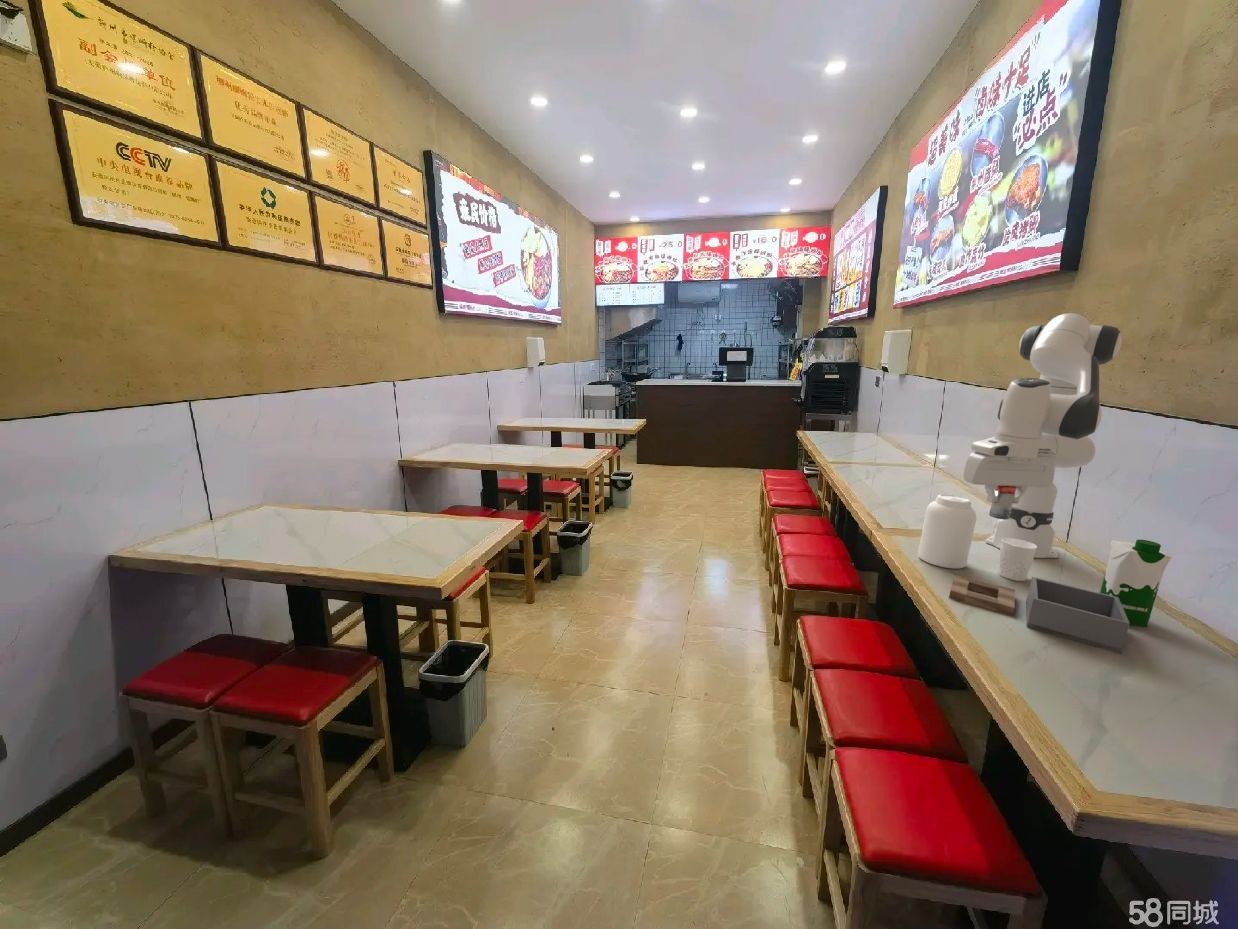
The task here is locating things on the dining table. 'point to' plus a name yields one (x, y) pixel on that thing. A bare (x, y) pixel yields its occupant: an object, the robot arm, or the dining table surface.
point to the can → (947, 532)
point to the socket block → (1000, 604)
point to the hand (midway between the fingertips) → (1002, 502)
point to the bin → (1076, 614)
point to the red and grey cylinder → (1003, 502)
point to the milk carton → (1135, 577)
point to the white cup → (1015, 558)
